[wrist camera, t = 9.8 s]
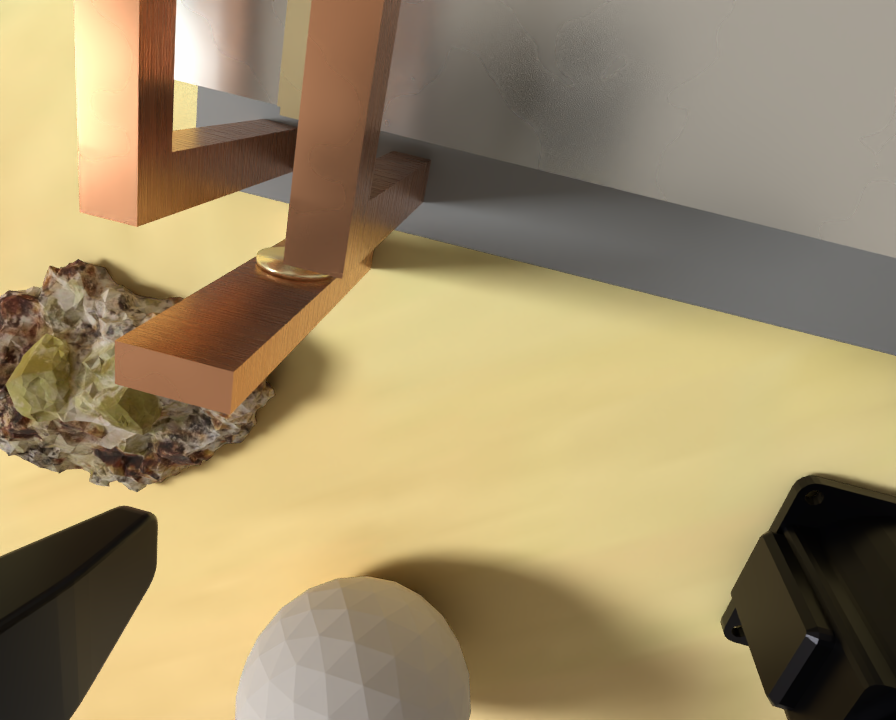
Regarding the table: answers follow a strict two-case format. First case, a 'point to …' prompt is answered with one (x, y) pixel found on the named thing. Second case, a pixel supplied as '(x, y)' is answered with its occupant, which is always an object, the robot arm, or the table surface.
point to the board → (627, 238)
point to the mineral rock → (97, 386)
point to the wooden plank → (230, 332)
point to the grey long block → (621, 95)
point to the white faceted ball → (355, 658)
